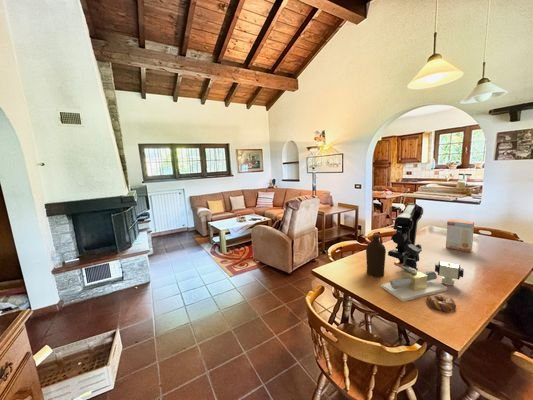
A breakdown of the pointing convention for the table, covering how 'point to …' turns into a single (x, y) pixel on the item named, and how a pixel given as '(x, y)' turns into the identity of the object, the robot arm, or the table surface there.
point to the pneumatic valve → (449, 272)
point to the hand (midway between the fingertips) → (402, 264)
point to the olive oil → (375, 257)
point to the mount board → (409, 294)
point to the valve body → (413, 280)
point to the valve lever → (405, 267)
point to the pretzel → (441, 303)
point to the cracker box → (459, 235)
